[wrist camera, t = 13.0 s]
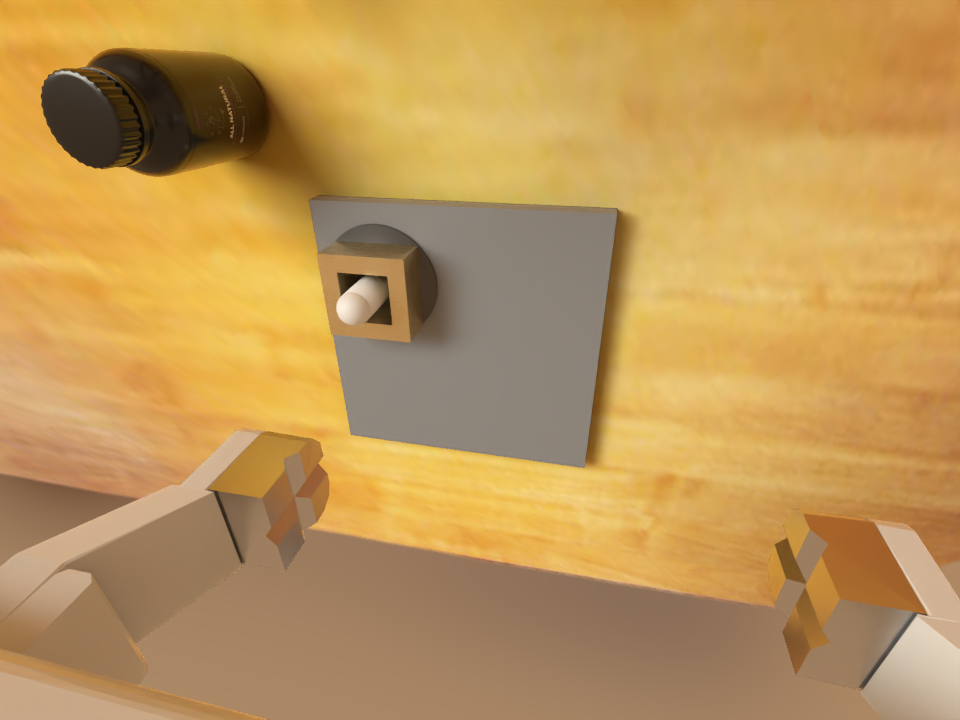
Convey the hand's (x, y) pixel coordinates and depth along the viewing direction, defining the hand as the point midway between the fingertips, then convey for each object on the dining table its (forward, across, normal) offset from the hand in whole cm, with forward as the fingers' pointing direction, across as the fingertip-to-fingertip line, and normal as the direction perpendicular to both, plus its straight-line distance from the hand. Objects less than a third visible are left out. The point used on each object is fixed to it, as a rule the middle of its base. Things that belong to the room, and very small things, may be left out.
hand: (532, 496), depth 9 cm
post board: (+29, +9, +13) cm, 33 cm away
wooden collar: (+27, +15, +8) cm, 32 cm away
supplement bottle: (+29, +26, -4) cm, 39 cm away
